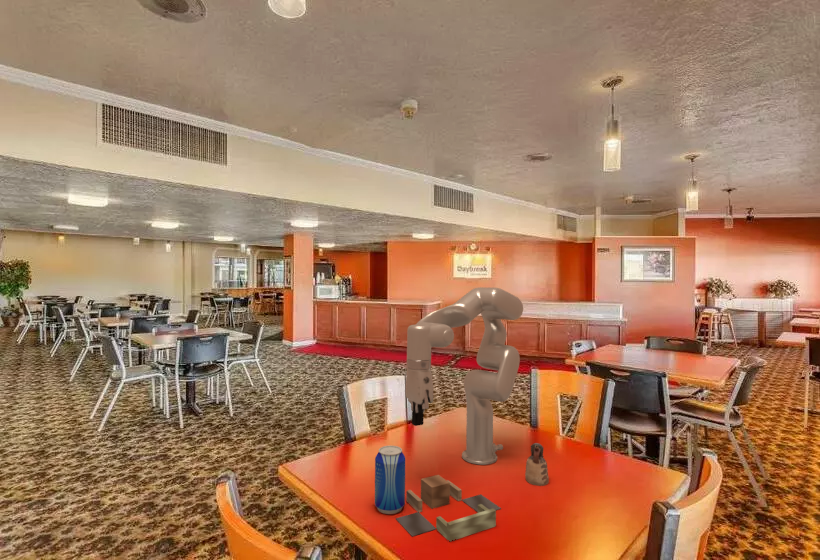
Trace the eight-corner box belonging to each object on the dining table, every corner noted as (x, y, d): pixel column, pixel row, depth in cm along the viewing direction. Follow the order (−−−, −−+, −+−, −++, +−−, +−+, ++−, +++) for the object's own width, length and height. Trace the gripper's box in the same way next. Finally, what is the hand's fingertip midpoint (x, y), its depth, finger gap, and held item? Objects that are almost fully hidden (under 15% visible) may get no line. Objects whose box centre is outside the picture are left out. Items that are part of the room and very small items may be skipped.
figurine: (550, 479, 136) (550, 441, 137) (546, 488, 130) (546, 449, 130) (528, 474, 140) (528, 437, 140) (523, 482, 133) (523, 444, 134)
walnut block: (438, 495, 125) (438, 474, 125) (449, 504, 120) (449, 482, 120) (420, 499, 122) (420, 478, 122) (431, 509, 117) (431, 487, 117)
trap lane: (466, 485, 131) (466, 472, 132) (516, 519, 112) (516, 504, 112) (384, 506, 118) (384, 492, 118) (424, 550, 98) (424, 532, 99)
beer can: (374, 500, 121) (375, 444, 122) (403, 499, 122) (404, 443, 122) (374, 516, 113) (375, 456, 113) (405, 515, 114) (406, 455, 114)
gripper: (442, 368, 126) (441, 430, 125) (417, 360, 139) (416, 416, 138) (420, 369, 122) (419, 433, 122) (397, 361, 135) (395, 419, 135)
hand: (417, 424), depth 130 cm, fingers closed
